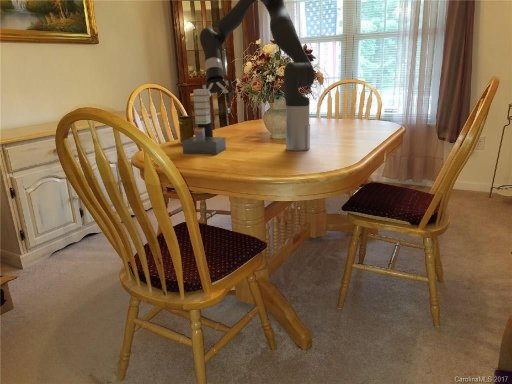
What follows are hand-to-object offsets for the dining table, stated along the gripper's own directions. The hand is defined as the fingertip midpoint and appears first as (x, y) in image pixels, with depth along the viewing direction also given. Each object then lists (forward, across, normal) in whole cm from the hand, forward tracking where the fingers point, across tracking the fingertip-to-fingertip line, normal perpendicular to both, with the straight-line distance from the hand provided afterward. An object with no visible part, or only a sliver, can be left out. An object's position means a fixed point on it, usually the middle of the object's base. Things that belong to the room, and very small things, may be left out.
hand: (217, 104), depth 173 cm
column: (+12, +5, +8) cm, 15 cm away
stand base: (+21, +7, +2) cm, 22 cm away
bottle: (+6, +12, -20) cm, 24 cm away
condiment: (+8, +18, -15) cm, 25 cm away
